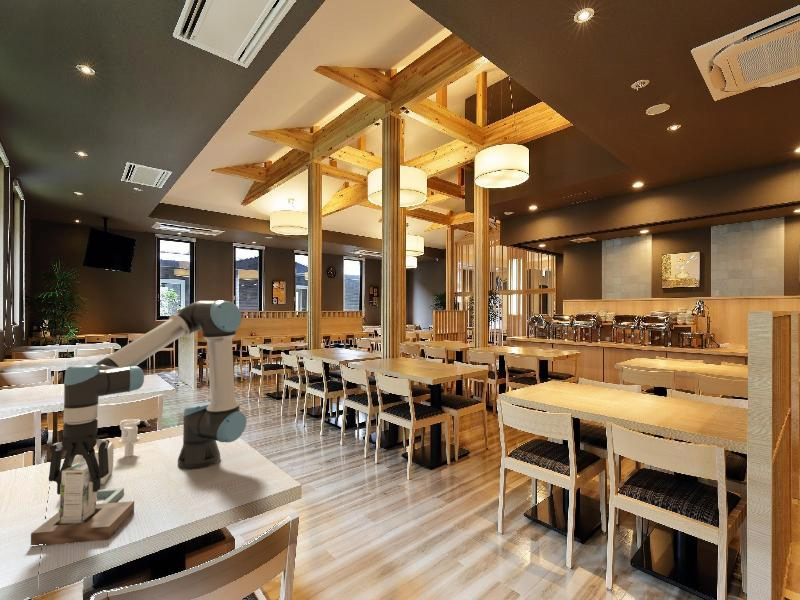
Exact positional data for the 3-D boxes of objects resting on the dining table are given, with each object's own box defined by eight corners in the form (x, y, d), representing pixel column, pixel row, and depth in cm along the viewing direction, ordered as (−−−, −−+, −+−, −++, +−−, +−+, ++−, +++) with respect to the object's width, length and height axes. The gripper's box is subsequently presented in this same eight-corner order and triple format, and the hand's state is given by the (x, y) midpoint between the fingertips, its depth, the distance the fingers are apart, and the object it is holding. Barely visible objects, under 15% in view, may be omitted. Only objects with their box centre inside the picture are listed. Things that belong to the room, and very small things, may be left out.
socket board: (134, 512, 119) (134, 501, 119) (109, 539, 105) (109, 526, 105) (65, 518, 115) (65, 506, 115) (30, 546, 101) (31, 533, 102)
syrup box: (74, 513, 112) (75, 462, 113) (96, 512, 113) (97, 461, 113) (58, 524, 107) (60, 470, 107) (82, 523, 107) (83, 469, 107)
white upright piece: (114, 456, 163) (115, 420, 164) (132, 451, 170) (132, 416, 170) (126, 459, 161) (126, 422, 161) (143, 453, 167) (143, 417, 167)
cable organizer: (102, 488, 135) (103, 454, 135) (63, 494, 130) (64, 458, 131) (113, 471, 148) (114, 440, 149) (78, 476, 144) (79, 444, 144)
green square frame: (123, 493, 131) (124, 487, 131) (104, 512, 119) (104, 505, 119) (82, 496, 128) (83, 490, 128) (58, 516, 117) (58, 509, 117)
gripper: (125, 415, 116) (123, 495, 115) (50, 418, 112) (48, 500, 112) (112, 422, 109) (109, 507, 108) (31, 426, 105) (28, 514, 104)
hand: (78, 504), depth 110 cm, fingers closed on syrup box, 6 cm apart
